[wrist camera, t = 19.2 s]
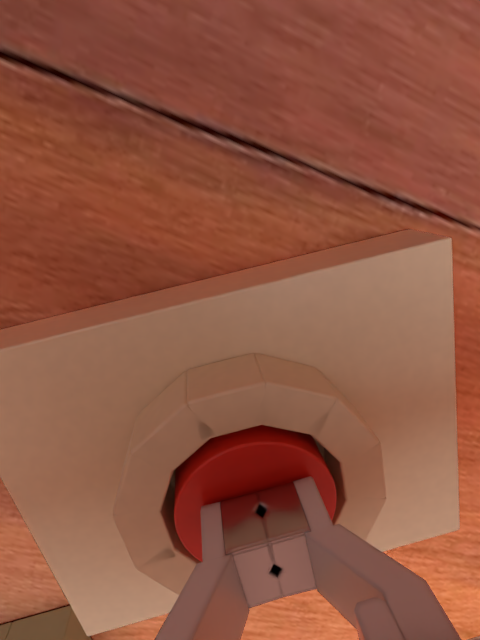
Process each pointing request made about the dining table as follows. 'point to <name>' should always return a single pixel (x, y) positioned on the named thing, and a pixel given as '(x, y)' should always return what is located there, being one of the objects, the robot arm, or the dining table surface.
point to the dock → (45, 627)
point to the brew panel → (231, 409)
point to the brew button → (244, 474)
